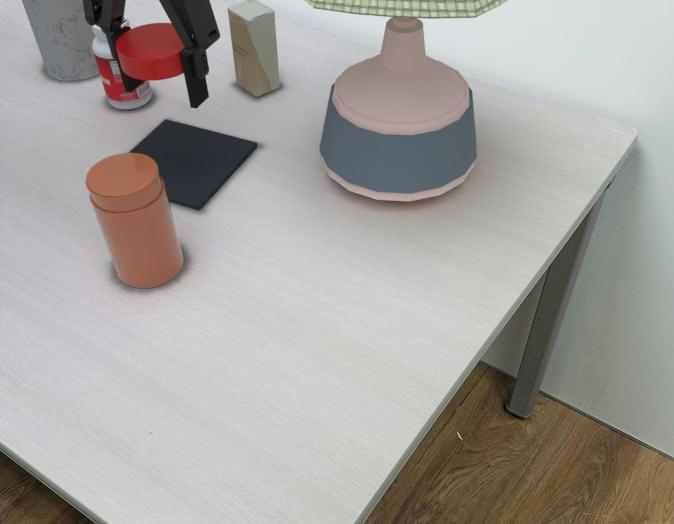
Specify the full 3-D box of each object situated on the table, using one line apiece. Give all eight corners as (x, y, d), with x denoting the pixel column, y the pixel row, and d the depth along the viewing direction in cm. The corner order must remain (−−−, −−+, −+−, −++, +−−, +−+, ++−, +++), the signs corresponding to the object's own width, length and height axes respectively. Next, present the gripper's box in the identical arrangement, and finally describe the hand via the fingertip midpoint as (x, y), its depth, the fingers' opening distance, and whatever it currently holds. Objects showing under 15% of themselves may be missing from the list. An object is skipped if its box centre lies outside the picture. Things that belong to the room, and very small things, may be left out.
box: (235, 84, 100) (224, 6, 91) (260, 73, 102) (251, -4, 93) (257, 99, 97) (248, 19, 89) (282, 87, 99) (275, 9, 91)
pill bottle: (107, 91, 99) (84, 13, 91) (150, 84, 100) (131, 6, 92) (109, 114, 95) (85, 35, 87) (154, 107, 96) (135, 28, 88)
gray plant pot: (121, 50, 107) (98, -34, 98) (96, 83, 101) (69, -4, 92) (62, 46, 108) (34, -38, 99) (34, 78, 102) (2, -8, 93)
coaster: (102, 181, 86) (101, 177, 85) (166, 122, 94) (165, 118, 93) (199, 210, 82) (198, 206, 81) (257, 146, 90) (257, 142, 89)
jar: (103, 277, 75) (67, 185, 66) (142, 235, 79) (114, 144, 70) (159, 296, 73) (131, 204, 64) (196, 253, 77) (174, 161, 68)
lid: (176, 36, 81) (172, 15, 79) (210, 64, 77) (207, 43, 75) (109, 57, 78) (103, 37, 76) (140, 89, 74) (135, 67, 72)
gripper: (-5, -136, 64) (73, 91, 81) (190, -109, 58) (229, 131, 75) (49, -159, 68) (112, 61, 86) (235, -136, 62) (262, 96, 80)
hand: (166, 93), depth 80 cm, fingers closed on lid, 8 cm apart
